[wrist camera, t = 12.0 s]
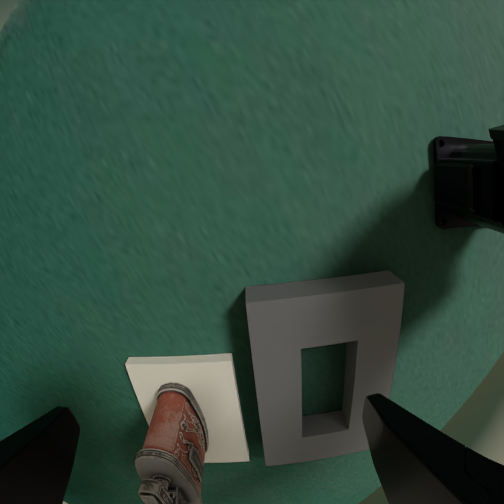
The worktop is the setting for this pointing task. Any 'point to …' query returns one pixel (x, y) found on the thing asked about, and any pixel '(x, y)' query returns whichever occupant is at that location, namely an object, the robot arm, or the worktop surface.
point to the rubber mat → (198, 397)
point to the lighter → (173, 449)
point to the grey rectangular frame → (313, 335)
